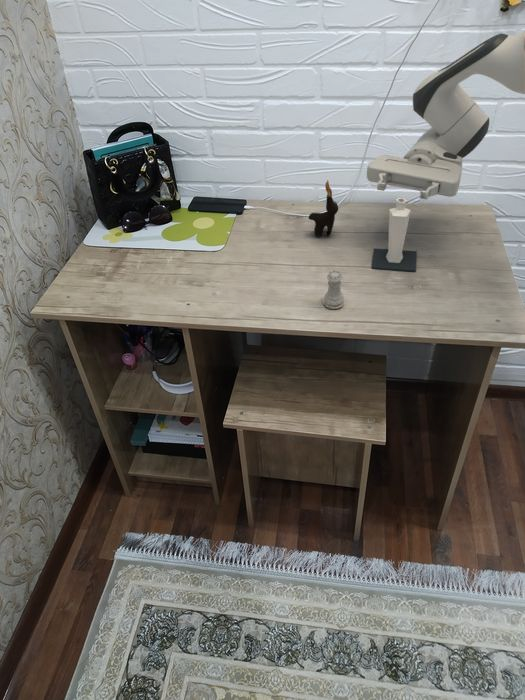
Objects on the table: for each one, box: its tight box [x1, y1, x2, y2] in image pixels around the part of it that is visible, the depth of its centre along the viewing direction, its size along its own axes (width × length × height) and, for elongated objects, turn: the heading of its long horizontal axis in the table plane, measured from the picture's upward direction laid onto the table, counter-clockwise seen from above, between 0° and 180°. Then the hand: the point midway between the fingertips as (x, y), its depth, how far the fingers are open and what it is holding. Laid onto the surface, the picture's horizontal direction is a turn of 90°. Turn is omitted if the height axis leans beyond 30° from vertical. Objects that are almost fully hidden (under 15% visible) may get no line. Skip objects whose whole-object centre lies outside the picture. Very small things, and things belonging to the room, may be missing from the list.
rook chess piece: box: [323, 269, 345, 310], centre depth 120 cm, size 4×4×8 cm
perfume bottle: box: [386, 197, 412, 263], centre depth 128 cm, size 5×4×15 cm
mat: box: [370, 247, 418, 273], centre depth 133 cm, size 10×8×1 cm
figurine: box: [308, 179, 339, 237], centre depth 139 cm, size 11×7×15 cm
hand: (401, 191), depth 121 cm, fingers open, 8 cm apart
